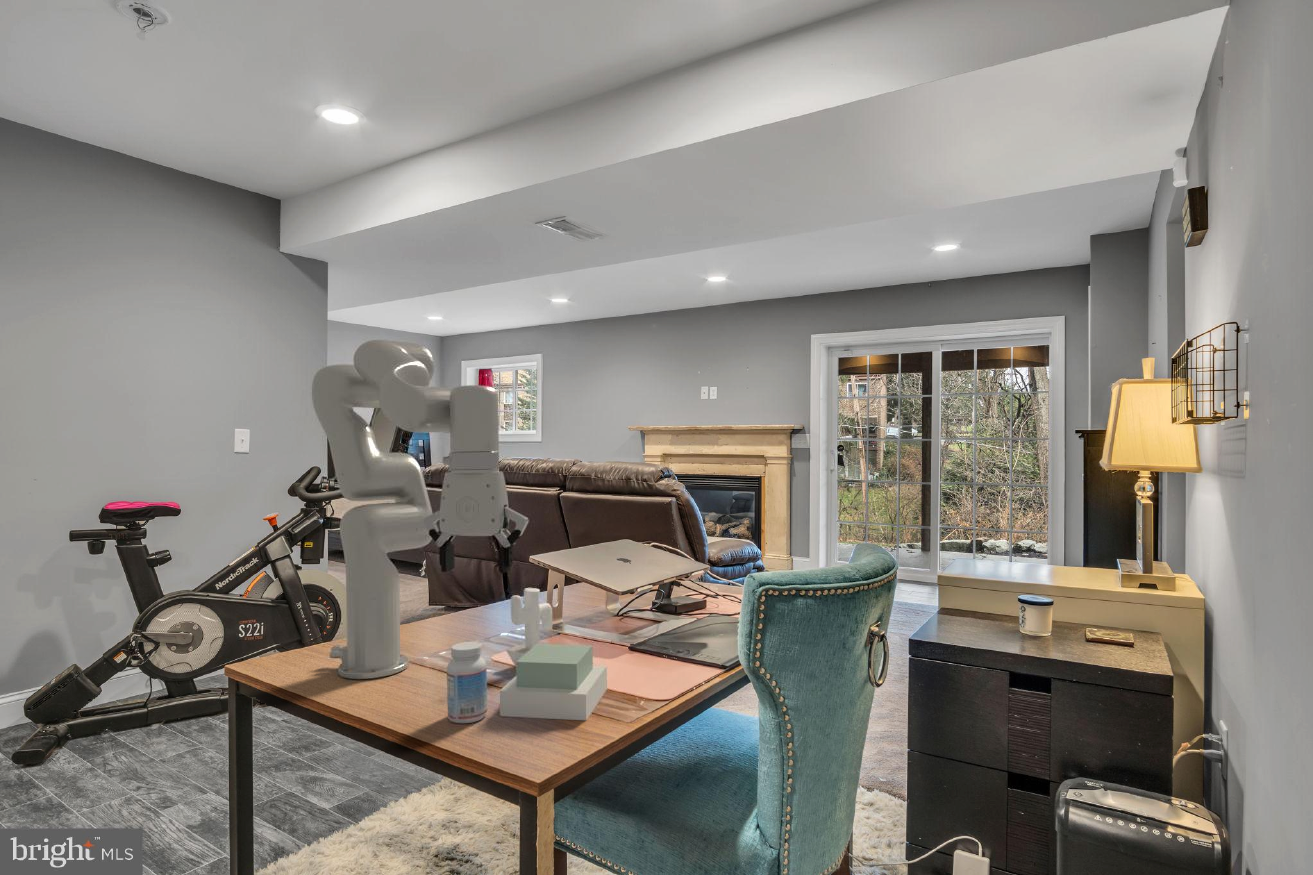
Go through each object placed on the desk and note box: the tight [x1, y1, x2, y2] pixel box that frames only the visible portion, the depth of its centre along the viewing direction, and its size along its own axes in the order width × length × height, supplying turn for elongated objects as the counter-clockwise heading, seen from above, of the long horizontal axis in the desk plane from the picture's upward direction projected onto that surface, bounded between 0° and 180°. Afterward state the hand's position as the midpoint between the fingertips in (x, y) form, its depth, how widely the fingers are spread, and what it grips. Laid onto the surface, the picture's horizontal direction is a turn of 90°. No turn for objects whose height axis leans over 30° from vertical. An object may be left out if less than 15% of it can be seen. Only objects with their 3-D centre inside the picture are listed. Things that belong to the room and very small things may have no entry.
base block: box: [499, 664, 608, 721], centre depth 116 cm, size 14×14×4 cm
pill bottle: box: [446, 641, 488, 724], centre depth 110 cm, size 6×6×11 cm
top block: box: [515, 643, 594, 689], centre depth 116 cm, size 10×10×4 cm
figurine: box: [505, 587, 553, 667], centre depth 135 cm, size 7×9×15 cm
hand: (476, 570), depth 111 cm, fingers open, 9 cm apart
